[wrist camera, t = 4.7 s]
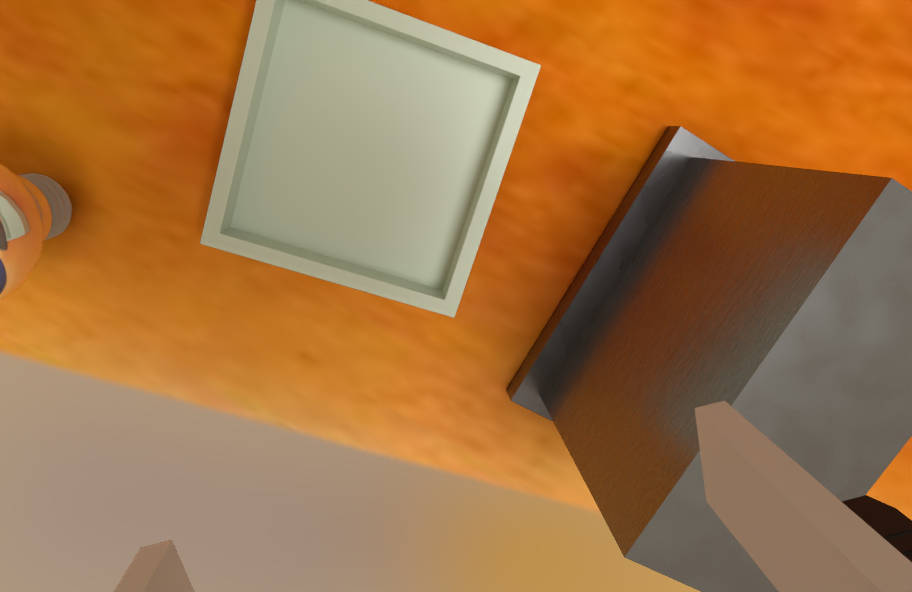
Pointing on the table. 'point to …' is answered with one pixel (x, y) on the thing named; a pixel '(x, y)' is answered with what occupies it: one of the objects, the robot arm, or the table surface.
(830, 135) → the table surface
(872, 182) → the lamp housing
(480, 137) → the tray
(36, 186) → the light bulb
